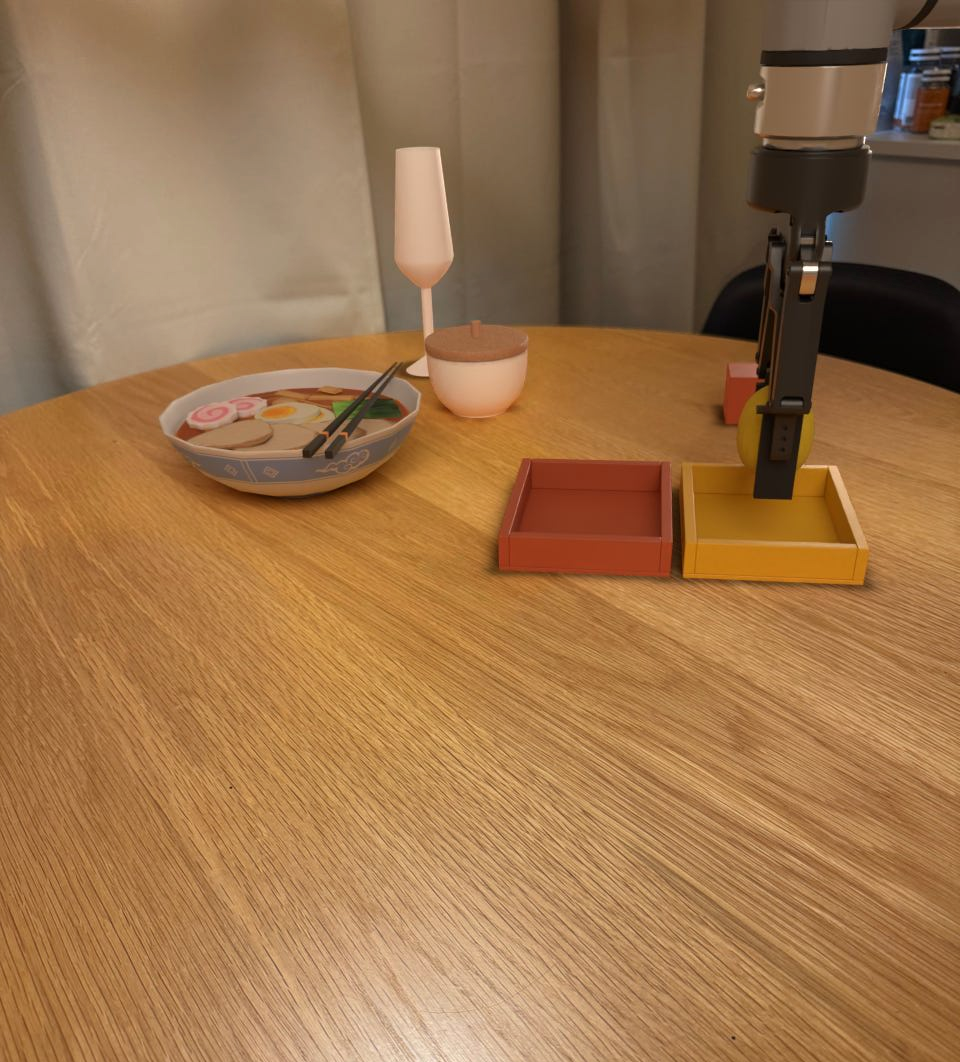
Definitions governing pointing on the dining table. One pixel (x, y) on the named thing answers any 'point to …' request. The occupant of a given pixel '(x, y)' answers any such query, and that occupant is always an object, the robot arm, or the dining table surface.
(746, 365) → the block
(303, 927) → the dining table surface
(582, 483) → the terracotta tray
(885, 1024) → the dining table surface
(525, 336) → the lidded sugar bowl
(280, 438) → the ramen bowl
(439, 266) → the champagne flute
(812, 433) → the lemon
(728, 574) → the yellow tray
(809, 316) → the robot arm
